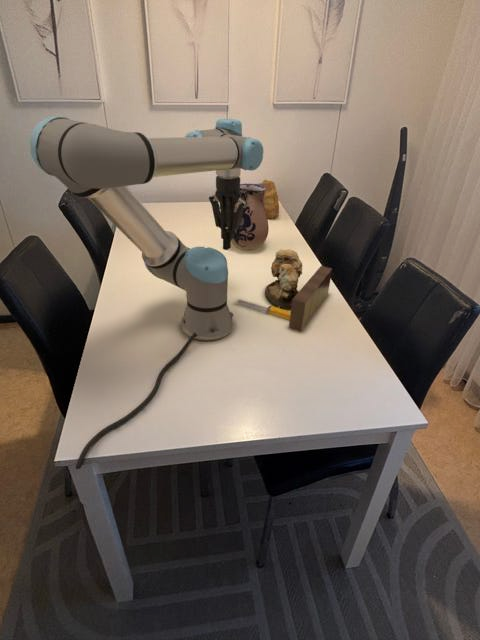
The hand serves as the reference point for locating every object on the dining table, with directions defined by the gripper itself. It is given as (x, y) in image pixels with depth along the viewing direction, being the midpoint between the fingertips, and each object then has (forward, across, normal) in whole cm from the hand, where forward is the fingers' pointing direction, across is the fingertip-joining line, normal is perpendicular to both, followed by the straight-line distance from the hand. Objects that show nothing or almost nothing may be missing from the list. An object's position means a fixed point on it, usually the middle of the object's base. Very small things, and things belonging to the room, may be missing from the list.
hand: (226, 248), depth 132 cm
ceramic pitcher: (+14, +10, -36) cm, 40 cm away
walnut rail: (+14, -32, 0) cm, 35 cm away
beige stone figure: (+14, -20, -3) cm, 25 cm away
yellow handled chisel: (+14, -19, +8) cm, 25 cm away
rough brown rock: (+14, +24, -78) cm, 83 cm away
